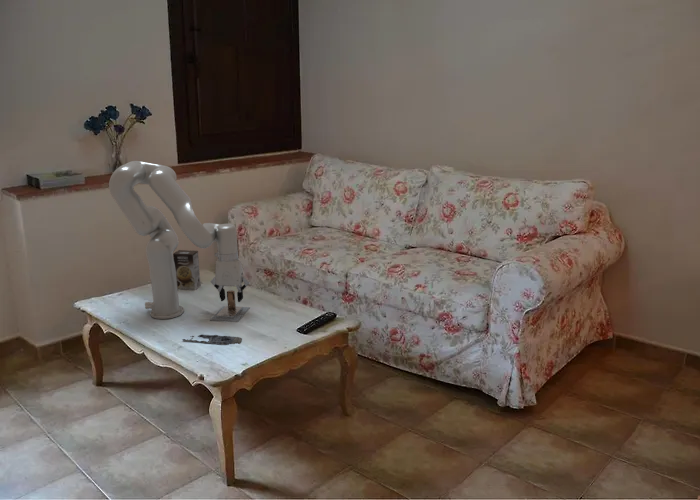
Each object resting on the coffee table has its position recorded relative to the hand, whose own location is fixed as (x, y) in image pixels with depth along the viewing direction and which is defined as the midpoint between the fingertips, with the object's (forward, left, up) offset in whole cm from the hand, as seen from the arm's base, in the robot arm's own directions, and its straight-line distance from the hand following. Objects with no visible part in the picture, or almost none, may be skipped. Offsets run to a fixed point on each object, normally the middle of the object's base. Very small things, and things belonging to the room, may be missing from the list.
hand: (231, 300), depth 251 cm
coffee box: (-29, +26, -5) cm, 39 cm away
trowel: (0, -3, -5) cm, 5 cm away
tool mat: (0, -2, -5) cm, 6 cm away
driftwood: (+2, -26, -6) cm, 27 cm away
